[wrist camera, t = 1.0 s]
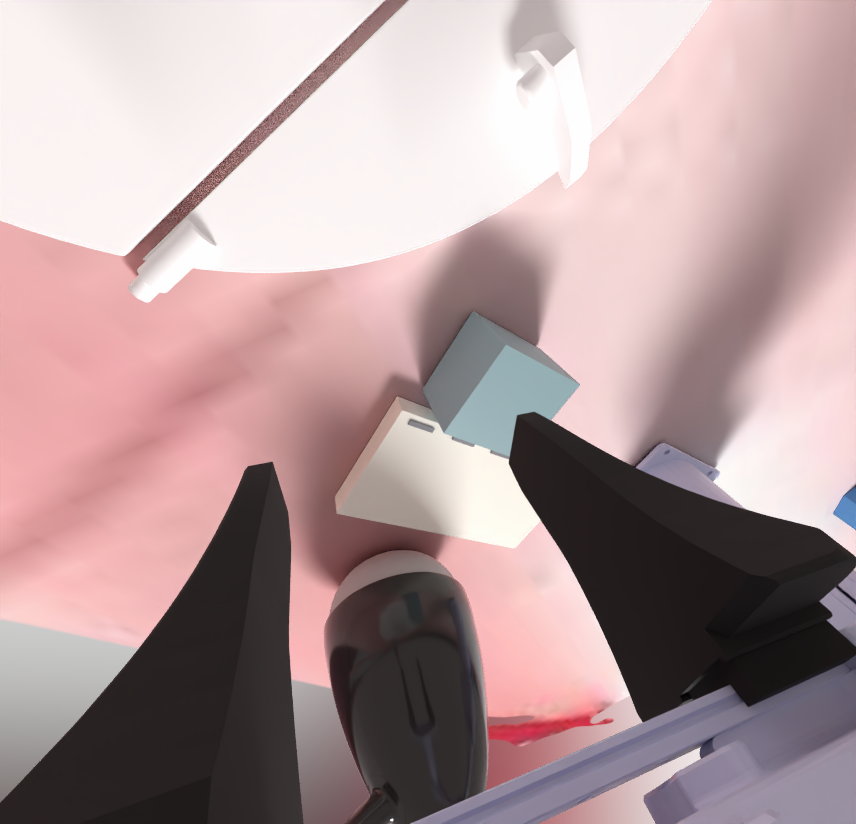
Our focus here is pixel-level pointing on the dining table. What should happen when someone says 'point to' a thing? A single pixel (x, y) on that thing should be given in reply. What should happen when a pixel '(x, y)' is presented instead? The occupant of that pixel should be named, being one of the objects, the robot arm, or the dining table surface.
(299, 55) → the lazy susan
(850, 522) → the water bottle
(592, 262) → the dining table surface
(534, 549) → the dining table surface
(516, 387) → the pale blue cube
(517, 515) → the white slotted box
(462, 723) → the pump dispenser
